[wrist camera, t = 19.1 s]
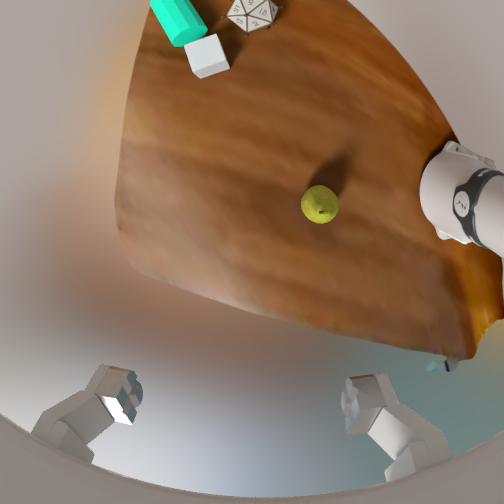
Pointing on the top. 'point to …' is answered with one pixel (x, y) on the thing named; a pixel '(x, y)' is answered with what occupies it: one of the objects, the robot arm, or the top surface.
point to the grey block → (206, 56)
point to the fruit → (319, 204)
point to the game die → (252, 14)
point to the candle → (179, 21)
